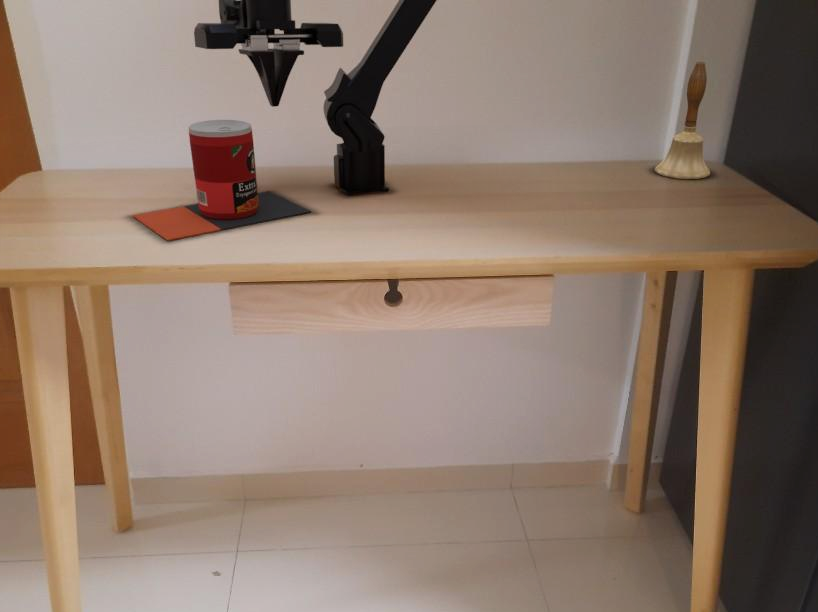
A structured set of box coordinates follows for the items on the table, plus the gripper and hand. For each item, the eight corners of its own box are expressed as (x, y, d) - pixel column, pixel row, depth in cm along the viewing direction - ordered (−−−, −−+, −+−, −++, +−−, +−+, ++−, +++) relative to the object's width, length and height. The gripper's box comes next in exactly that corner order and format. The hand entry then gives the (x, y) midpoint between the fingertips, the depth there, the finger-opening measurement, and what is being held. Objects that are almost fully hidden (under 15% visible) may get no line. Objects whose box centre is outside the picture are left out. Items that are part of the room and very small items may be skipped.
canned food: (247, 222, 99) (238, 132, 93) (189, 218, 100) (176, 130, 95) (267, 205, 105) (260, 120, 100) (212, 201, 107) (202, 118, 101)
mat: (269, 192, 112) (269, 191, 111) (311, 212, 103) (311, 211, 103) (183, 207, 105) (183, 206, 105) (221, 230, 97) (221, 228, 97)
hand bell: (682, 182, 117) (703, 67, 108) (643, 169, 123) (660, 60, 115) (721, 175, 120) (745, 63, 112) (681, 164, 126) (701, 57, 118)
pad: (183, 207, 105) (183, 206, 105) (221, 230, 97) (221, 228, 97) (132, 216, 102) (132, 215, 101) (167, 241, 93) (167, 239, 93)
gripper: (309, -23, 108) (313, 97, 115) (176, -26, 100) (189, 103, 107) (343, -24, 99) (346, 105, 107) (201, -28, 91) (214, 112, 99)
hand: (274, 106), depth 105 cm, fingers closed
